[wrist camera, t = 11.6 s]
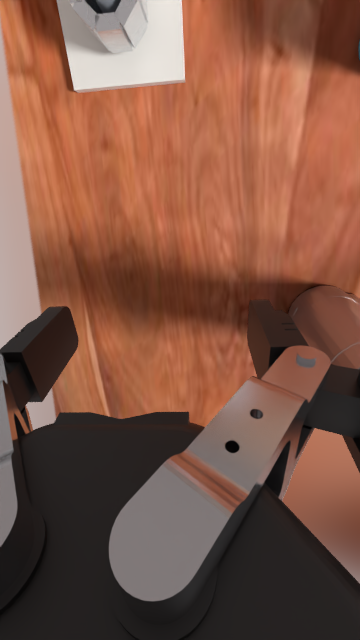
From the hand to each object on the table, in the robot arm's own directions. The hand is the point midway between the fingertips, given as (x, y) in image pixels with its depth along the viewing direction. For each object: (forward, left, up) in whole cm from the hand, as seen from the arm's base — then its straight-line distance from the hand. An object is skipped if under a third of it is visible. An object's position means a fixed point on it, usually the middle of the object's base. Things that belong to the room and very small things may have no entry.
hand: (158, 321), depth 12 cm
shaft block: (+5, -19, -28) cm, 34 cm away
